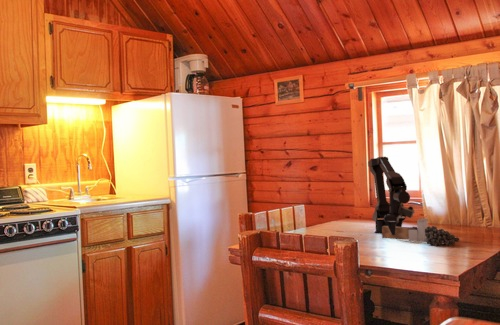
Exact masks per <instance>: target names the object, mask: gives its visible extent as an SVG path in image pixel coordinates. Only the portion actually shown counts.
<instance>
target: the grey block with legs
mask: <svg viewBox="0 0 500 325" xmlns="http://www.w3.org/2000/svg"><path fill="white" fill-rule="evenodd" d="M428 220H429V218H427V217H426V218H425V217H424V218H423V217H421V218H418V219H417V220H416V222H417V223H416V225H417V226H416V227H417V230H409V240H408V241H411V242H426V236H425V229H426V228H427V227H428V226H429V225H428V224H429V222H428Z"/></svg>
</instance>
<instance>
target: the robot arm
mask: <svg viewBox="0 0 500 325" xmlns="http://www.w3.org/2000/svg"><path fill="white" fill-rule="evenodd" d="M367 166H368V167H369V172H370V173H371V174H372V175H373V180H374V181H373V182H374V186H375V187H374V188H375V193H376V194H375V195H376V201H377V202H376V205H375V206H374V212H373V214H372V221H374V222H375V231H374V233H375V234H382V227H383V226H388V227H389V229H390V231H391V233H392V235H395V229H396V226H397V227H403V222H404V221H405V220H406V219H407V218H408V219H409V218H410V219H411V218H413V217H414V214H415V208H414V206H412V205H410V206H408V207H406V206H405V204H407V203H409V201H410V200H411V196H410V193H409V192H408V191H407V190H408V189H407V184H406V182H405V179H404V177H403V176H402V175H401V174H400V173H398V172H397V171H395V169H394V168H393V166H392V165H391V162H390V160H389V157H388V156H379V157H376V158H370V159H369V160H368V162H367ZM384 175H385V178H386V180H384V179H385V178H384ZM385 184H386V185H387V188H388V195H389V197H388V198H389V200H388V201H389V202H388V201H387V195H386V185H385Z"/></svg>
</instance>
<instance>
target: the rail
mask: <svg viewBox="0 0 500 325" xmlns="http://www.w3.org/2000/svg"><path fill="white" fill-rule="evenodd" d="M409 230H417V226H410V227H409V226H402V227H397V226H396V229H395V235H392V233H391V231H390V229H389V227H388V226H383V227H382V233H381V238H382V239H391V240H404V241H405V240H408V241H409Z"/></svg>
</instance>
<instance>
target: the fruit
mask: <svg viewBox="0 0 500 325" xmlns="http://www.w3.org/2000/svg"><path fill="white" fill-rule="evenodd" d="M425 236H426V241H425V242H426V244H427V245H430V246H434V247H437V246H441V245H446V244H447V245H448V246H449V247H450V246H452V245H453V246H454V245H455V244H456V243H457V242H459V241H460V238H459V237H456V235H454V234H451V233H450V232H449V231H448V230H446V231H445V230H444V229H443V228H440V229H439V228H438V227H437V226H434V225H432V226H429V225H428V227H427V228H426V229H425Z"/></svg>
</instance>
